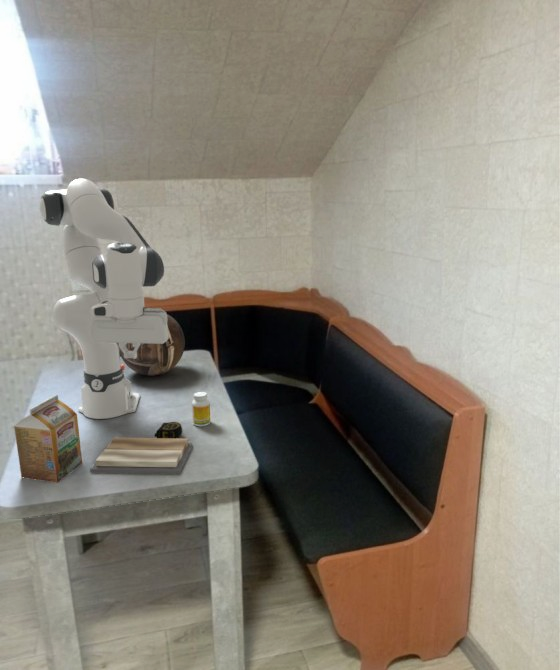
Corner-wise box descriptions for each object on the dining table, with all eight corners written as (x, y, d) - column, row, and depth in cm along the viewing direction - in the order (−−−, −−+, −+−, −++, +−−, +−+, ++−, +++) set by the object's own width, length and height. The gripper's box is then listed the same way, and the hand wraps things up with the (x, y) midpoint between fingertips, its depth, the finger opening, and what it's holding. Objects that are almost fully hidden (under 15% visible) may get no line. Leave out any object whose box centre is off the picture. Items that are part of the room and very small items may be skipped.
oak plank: (115, 442, 162) (114, 437, 162) (188, 443, 161) (188, 438, 161) (106, 453, 156) (105, 448, 155) (182, 454, 154) (182, 449, 154)
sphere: (189, 381, 215) (185, 315, 209) (119, 387, 210) (113, 320, 203) (184, 361, 239) (180, 302, 232) (121, 367, 233) (116, 306, 227)
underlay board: (112, 445, 163) (111, 442, 163) (192, 446, 161) (192, 443, 161) (90, 472, 148) (90, 469, 147) (179, 474, 146) (179, 470, 146)
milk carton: (57, 482, 143) (48, 411, 138) (21, 477, 146) (11, 407, 141) (82, 463, 153) (74, 396, 148) (48, 458, 156) (39, 392, 151)
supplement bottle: (190, 422, 178) (188, 392, 176) (207, 418, 180) (205, 389, 178) (196, 428, 173) (194, 398, 171) (213, 424, 176) (211, 395, 173)
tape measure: (163, 431, 172) (162, 420, 171) (185, 433, 171) (185, 421, 170) (155, 441, 165) (154, 429, 164) (177, 443, 164) (177, 431, 163)
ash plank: (105, 454, 155) (105, 449, 155) (182, 455, 154) (182, 450, 153) (95, 466, 148) (95, 460, 148) (176, 467, 147) (176, 461, 147)
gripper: (169, 305, 150) (172, 355, 154) (93, 303, 151) (97, 353, 155) (163, 311, 144) (166, 363, 148) (83, 309, 145) (88, 361, 149)
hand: (130, 358), depth 152 cm, fingers closed
